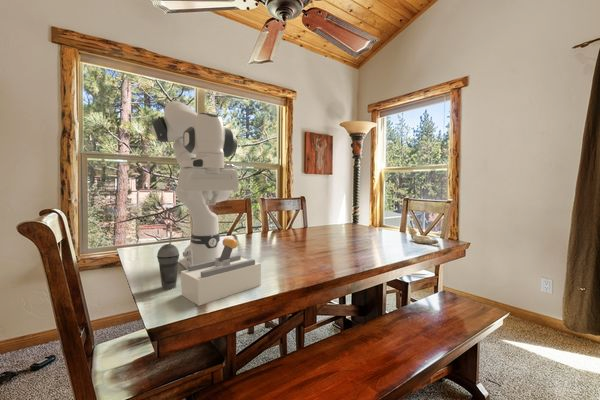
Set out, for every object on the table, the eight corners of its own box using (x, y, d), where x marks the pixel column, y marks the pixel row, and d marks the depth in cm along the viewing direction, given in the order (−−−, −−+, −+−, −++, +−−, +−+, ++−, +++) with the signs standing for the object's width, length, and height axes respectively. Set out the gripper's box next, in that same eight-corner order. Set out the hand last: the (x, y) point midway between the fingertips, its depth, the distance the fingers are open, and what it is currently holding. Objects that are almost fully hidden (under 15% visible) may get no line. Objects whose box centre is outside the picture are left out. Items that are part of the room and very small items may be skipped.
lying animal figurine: (412, 239, 188) (412, 224, 188) (442, 245, 170) (442, 228, 169) (403, 240, 184) (403, 225, 183) (433, 247, 166) (433, 230, 165)
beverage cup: (162, 283, 105) (161, 230, 104) (183, 283, 106) (181, 230, 104) (154, 291, 98) (152, 233, 97) (176, 290, 99) (174, 233, 97)
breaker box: (181, 294, 95) (180, 262, 94) (241, 277, 112) (241, 250, 112) (198, 305, 87) (198, 270, 86) (260, 285, 104) (260, 255, 103)
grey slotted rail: (187, 270, 95) (187, 265, 95) (238, 258, 110) (238, 254, 110) (203, 277, 88) (203, 272, 88) (255, 264, 103) (255, 260, 102)
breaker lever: (215, 260, 100) (224, 236, 102) (222, 262, 102) (230, 239, 104) (223, 263, 96) (232, 238, 98) (230, 264, 98) (238, 241, 100)
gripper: (232, 164, 103) (232, 202, 104) (175, 161, 89) (176, 206, 90) (242, 164, 99) (242, 203, 100) (184, 160, 84) (185, 207, 85)
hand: (210, 204), depth 95 cm, fingers closed
